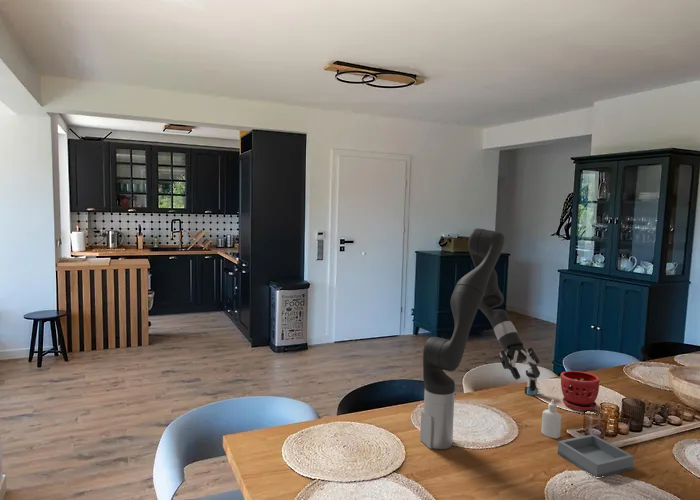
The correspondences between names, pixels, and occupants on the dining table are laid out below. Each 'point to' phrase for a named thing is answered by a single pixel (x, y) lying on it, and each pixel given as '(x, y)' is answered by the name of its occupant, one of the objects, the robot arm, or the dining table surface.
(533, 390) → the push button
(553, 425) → the eye dropper bottle
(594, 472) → the tray
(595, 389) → the plant pot
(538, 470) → the dining table surface
